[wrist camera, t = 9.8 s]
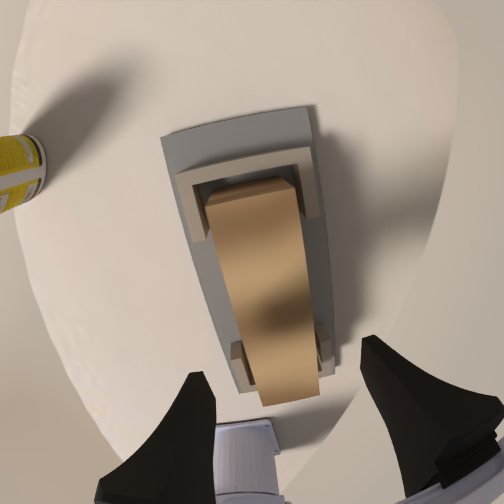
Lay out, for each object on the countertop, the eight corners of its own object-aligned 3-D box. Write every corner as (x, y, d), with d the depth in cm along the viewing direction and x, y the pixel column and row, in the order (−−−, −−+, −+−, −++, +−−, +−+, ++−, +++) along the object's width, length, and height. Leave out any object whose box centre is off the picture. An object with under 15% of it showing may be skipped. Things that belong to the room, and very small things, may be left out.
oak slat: (305, 349, 22) (319, 394, 17) (258, 359, 22) (263, 406, 17) (278, 175, 17) (294, 188, 12) (213, 188, 17) (204, 207, 12)
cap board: (332, 368, 24) (340, 389, 22) (239, 387, 24) (239, 410, 22) (303, 108, 16) (315, 102, 13) (163, 137, 16) (150, 137, 13)
